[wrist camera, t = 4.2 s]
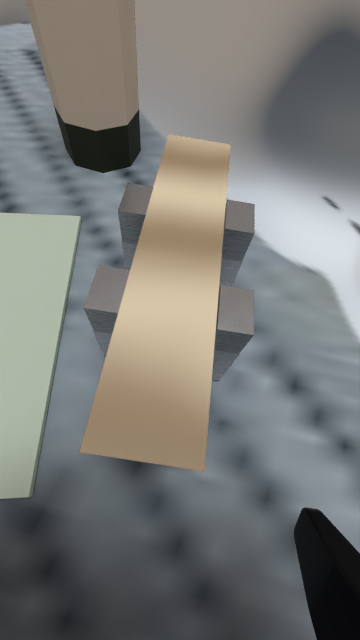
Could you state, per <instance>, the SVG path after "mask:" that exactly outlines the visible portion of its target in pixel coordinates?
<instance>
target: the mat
mask: <svg viewBox="0 0 360 640" xmlns="http://www.w3.org/2000/svg"><path fill="white" fill-rule="evenodd" d="M81 221H82V220H81V216H65V215H40V214H16V213H0V499H6V498H24V497H31V496H32V495H33V489H34V484H35V478H36V473H37V467H38V461H39V456H40V450H41V445H42V439H43V434H44V428H45V422H46V417H47V411H48V406H49V400H50V394H51V389H52V383H53V378H54V372H55V367H56V361H57V355H58V350H59V344H60V339H61V333H62V328H63V322H64V316H65V311H66V305H67V300H68V294H69V288H70V283H71V277H72V272H73V266H74V261H75V255H76V249H77V244H78V238H79V233H80V227H81Z"/></svg>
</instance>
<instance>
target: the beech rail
mask: <svg viewBox="0 0 360 640" xmlns="http://www.w3.org/2000/svg"><path fill="white" fill-rule="evenodd" d="M229 158H230V145H228V144H222V143H217V142H211V141H204V140H199V139H193V138H187V137H182V136H176V135H170V134H168V138H167V141H166V145H165V148H164V152H163V155H162V159H161V162H160V166H159V170H158V173H157V177H156V180H155V184H154V187H153V191H152V194H151V198H150V202H149V205H148V209H147V212H146V216H145V219H144V223H143V227H142V230H141V234H140V237H139V241H138V244H137V248H136V251H135V255H134V259H133V262H132V266H131V269H130V273H129V276H128V280H127V283H126V287H125V291H124V294H123V298H122V301H121V305H120V308H119V312H118V316H117V319H116V323H115V326H114V330H113V333H112V337H111V340H110V344H109V348H108V351H107V355H106V358H105V362H104V365H103V369H102V372H101V376H100V380H99V383H98V387H97V390H96V394H95V397H94V401H93V405H92V408H91V412H90V415H89V419H88V422H87V426H86V429H85V433H84V437H83V440H82V444H81V447H80V451H79V452H81V453H88V454H94V455H101V456H107V457H114V458H121V459H127V460H134V461H140V462H147V463H153V464H160V465H166V466H173V467H179V468H186V469H192V470H199V471H204V470H205V458H206V445H207V433H208V420H209V408H210V395H211V383H212V370H213V358H214V345H215V333H216V320H217V308H218V295H219V283H220V270H221V258H222V245H223V233H224V220H225V208H226V195H227V183H228V170H229Z"/></svg>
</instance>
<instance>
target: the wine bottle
mask: <svg viewBox="0 0 360 640" xmlns="http://www.w3.org/2000/svg"><path fill="white" fill-rule="evenodd" d="M25 3H26V7H27V10H28V14H29V17H30V21H31V25H32V28H33V32H34V36H35V39H36V43H37V46H38V50H39V54H40V57H41V61H42V64H43V68H44V72H45V75H46V79H47V82H48V86H49V89H50V93H51V97H52V100H53V104H54V107H55V111H56V115H57V118H58V122H59V125H60V129H61V133H62V136H63V140H64V143H65V147H66V150H67V151H68V153H69V155H70V157H71V158H72V160H73V162H74V164H75V165H77V166H80V167H84V168H88V169H91V170H95V171H99V172H102V173H104V172H108V171H112V170H117V169H121V168H125V167H129V166H131V165H132V163H133V162H134V160H135V158H136V157H137V155H138V154H139V152H140V151H141V149H140V124H139V102H138V101H139V100H138V77H137V52H136V26H135V2H134V0H25Z"/></svg>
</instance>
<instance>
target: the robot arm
mask: <svg viewBox="0 0 360 640" xmlns="http://www.w3.org/2000/svg"><path fill="white" fill-rule="evenodd" d="M294 539H295V544H296V549H297V554H298V559H299V564H300V569H301V574H302V579H303V584H304V589H305V594H306V599H307V603H308V608H309V612H310V616H311V620H312V624H313V627H314V631H315V634H316V638H317V640H360V553H359V552H358V551H357V550H356V549H355V548H354V547H353V546H352V544H351V543H350V542H349V541H348V540H347V539H346V538H345V537H344V536H343V535H342V534H341V533H340V531H339V530H338V529H337V528H336V527H335V526H334V525H333V524H332V523H331V522H330V521H329V520H328V518H327V517H326V516H325V515H324V514H323V513H322V512H321V511H319V510H318V509H313V508H303V509H302V510H301V513H300V515H299V518H298V520H297V523H296V525H295V528H294Z"/></svg>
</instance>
